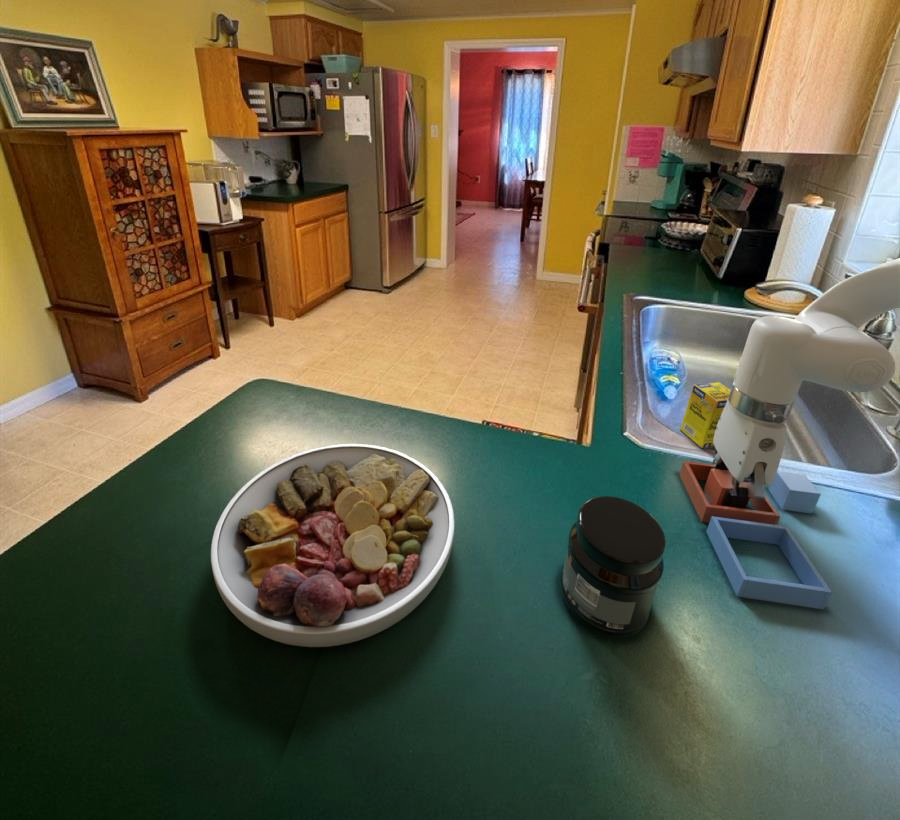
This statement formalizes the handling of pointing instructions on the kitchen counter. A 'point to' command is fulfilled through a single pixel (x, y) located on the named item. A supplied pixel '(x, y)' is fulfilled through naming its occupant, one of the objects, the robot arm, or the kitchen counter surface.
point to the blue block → (794, 492)
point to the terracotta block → (719, 485)
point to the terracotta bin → (706, 510)
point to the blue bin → (763, 589)
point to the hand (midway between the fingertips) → (724, 499)
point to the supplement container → (613, 566)
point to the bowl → (332, 544)
